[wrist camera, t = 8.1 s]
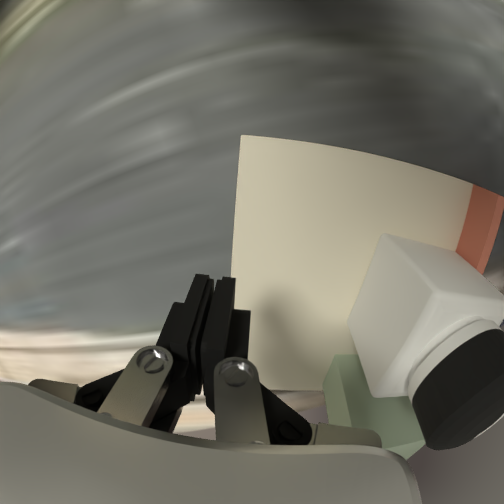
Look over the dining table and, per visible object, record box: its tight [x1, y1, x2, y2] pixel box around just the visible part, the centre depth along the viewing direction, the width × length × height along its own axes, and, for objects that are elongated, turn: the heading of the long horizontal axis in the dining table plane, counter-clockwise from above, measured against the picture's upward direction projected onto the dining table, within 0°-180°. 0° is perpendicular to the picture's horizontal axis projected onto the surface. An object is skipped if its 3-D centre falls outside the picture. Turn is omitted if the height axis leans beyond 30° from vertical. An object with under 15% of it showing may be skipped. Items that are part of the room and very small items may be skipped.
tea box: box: [322, 354, 426, 460], centre depth 17 cm, size 4×6×9 cm, turn 85°
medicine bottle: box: [347, 233, 504, 450], centre depth 12 cm, size 7×7×12 cm
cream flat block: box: [231, 135, 504, 391], centre depth 17 cm, size 20×17×3 cm
